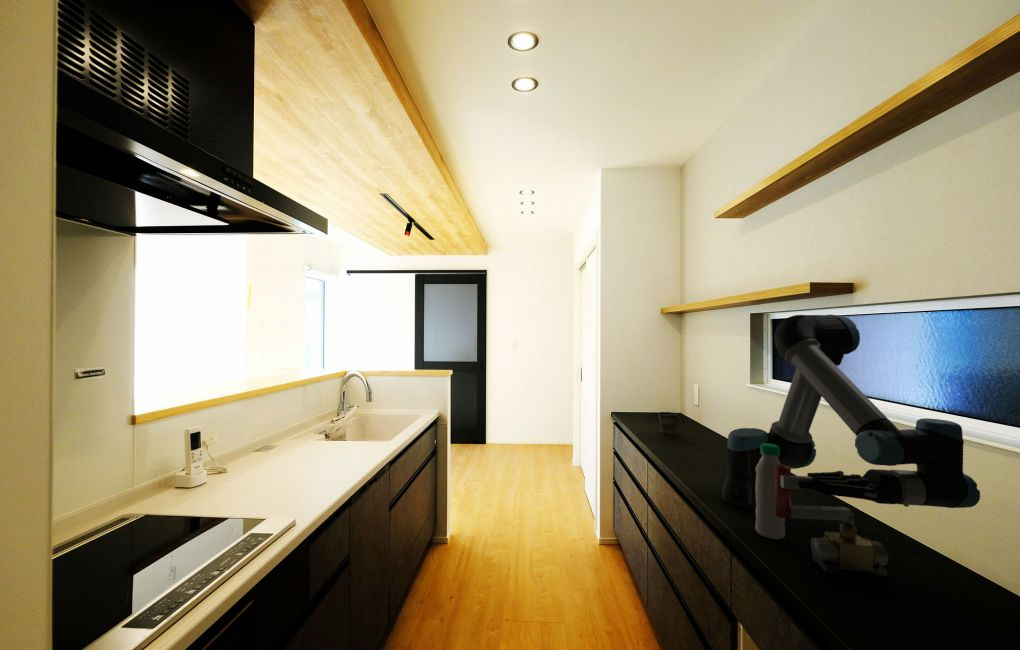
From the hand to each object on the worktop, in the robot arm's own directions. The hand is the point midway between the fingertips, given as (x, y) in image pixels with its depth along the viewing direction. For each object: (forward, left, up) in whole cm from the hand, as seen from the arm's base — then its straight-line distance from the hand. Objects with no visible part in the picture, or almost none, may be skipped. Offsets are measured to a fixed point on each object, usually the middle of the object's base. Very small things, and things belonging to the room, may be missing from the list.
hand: (782, 481), depth 101 cm
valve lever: (-3, +8, -11) cm, 14 cm away
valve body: (-3, +16, -21) cm, 27 cm away
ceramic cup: (-132, +4, -21) cm, 134 cm away
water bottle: (-18, +5, -21) cm, 28 cm away
